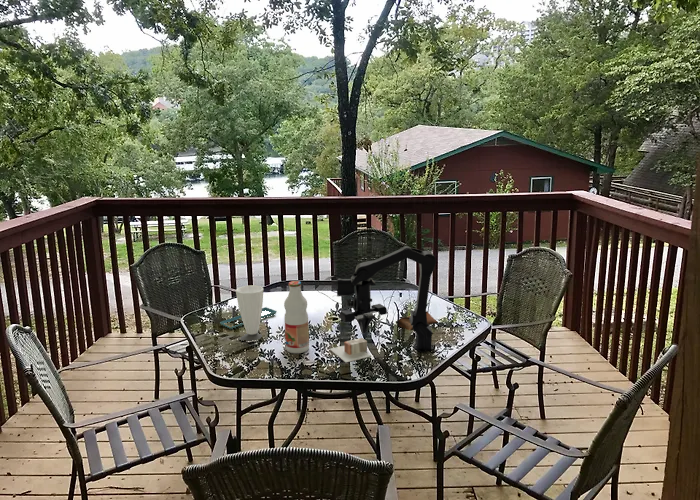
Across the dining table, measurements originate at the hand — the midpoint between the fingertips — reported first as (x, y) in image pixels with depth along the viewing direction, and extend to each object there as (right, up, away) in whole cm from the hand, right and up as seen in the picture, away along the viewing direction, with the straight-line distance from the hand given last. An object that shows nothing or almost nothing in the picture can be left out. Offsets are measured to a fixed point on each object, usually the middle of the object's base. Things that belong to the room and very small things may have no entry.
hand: (363, 333), depth 207 cm
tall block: (0, -5, +1) cm, 5 cm away
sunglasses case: (+25, -1, +29) cm, 38 cm away
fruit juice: (-27, -7, +3) cm, 28 cm away
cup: (-47, -5, +16) cm, 50 cm away
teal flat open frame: (-52, 0, +36) cm, 64 cm away
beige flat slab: (-5, -8, -1) cm, 9 cm away
